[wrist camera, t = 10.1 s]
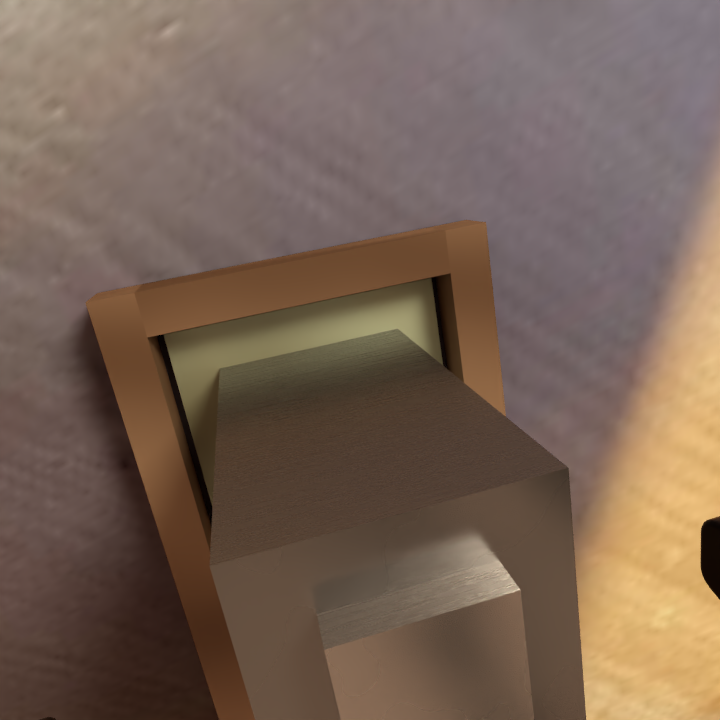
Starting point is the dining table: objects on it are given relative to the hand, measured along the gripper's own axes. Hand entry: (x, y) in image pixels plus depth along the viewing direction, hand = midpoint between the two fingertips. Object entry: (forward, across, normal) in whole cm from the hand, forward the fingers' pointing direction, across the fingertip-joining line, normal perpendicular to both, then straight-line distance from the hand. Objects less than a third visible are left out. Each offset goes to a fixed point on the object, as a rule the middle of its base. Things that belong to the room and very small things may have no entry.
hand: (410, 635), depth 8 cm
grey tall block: (+8, 0, 0) cm, 8 cm away
